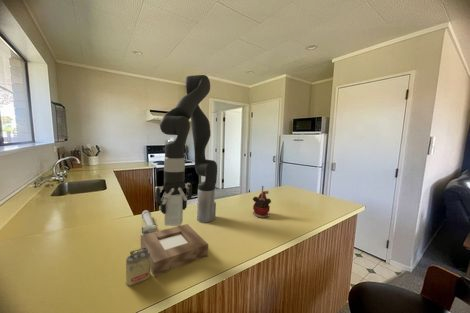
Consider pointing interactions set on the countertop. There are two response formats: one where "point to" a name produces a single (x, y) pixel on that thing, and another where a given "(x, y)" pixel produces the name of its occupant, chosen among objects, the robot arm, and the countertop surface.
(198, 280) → the countertop surface
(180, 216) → the skincare box
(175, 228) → the holder block
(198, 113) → the robot arm
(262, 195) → the mouse candy apple
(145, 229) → the white flashlight
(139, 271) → the beige logo box
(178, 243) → the pad
